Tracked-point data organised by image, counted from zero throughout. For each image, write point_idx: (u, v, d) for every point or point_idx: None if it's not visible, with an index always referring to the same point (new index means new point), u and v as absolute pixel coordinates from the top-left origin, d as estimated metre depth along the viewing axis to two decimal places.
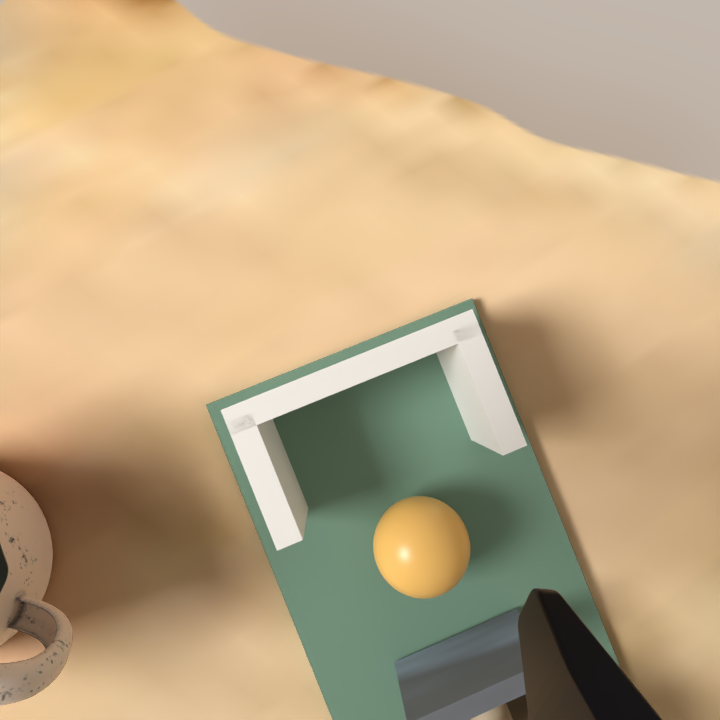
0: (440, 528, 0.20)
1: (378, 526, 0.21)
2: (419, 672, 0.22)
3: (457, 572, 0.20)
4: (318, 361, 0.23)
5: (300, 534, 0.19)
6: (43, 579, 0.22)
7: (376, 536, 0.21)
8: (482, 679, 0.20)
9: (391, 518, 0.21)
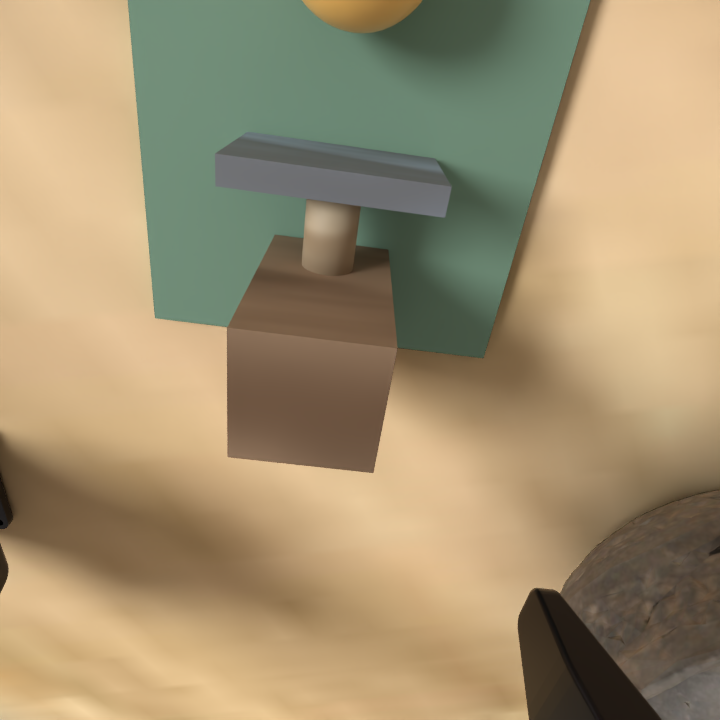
0: None
1: None
2: (270, 143, 0.15)
3: None
4: None
5: None
6: None
7: None
8: (343, 167, 0.13)
9: None
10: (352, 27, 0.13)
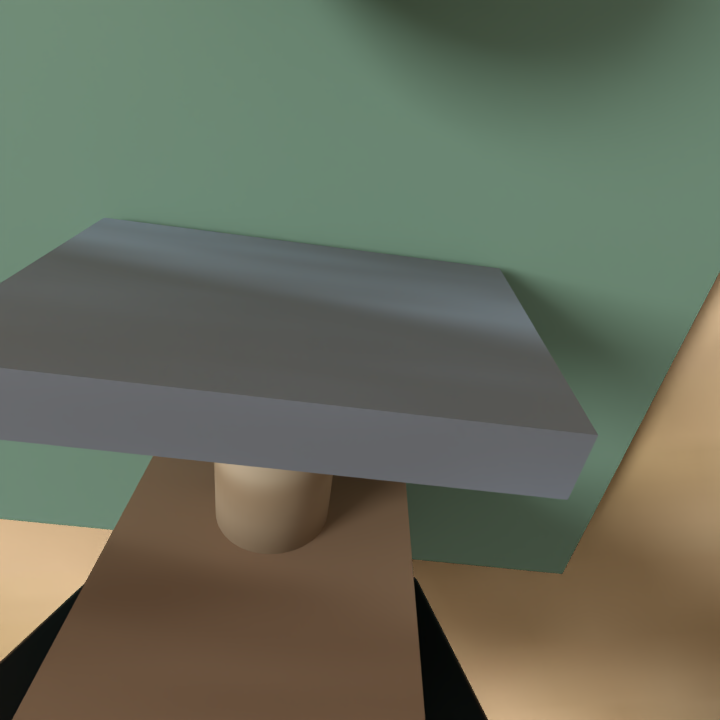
0: None
1: None
2: (130, 260, 0.06)
3: None
4: None
5: None
6: None
7: None
8: (288, 365, 0.05)
9: None
10: None
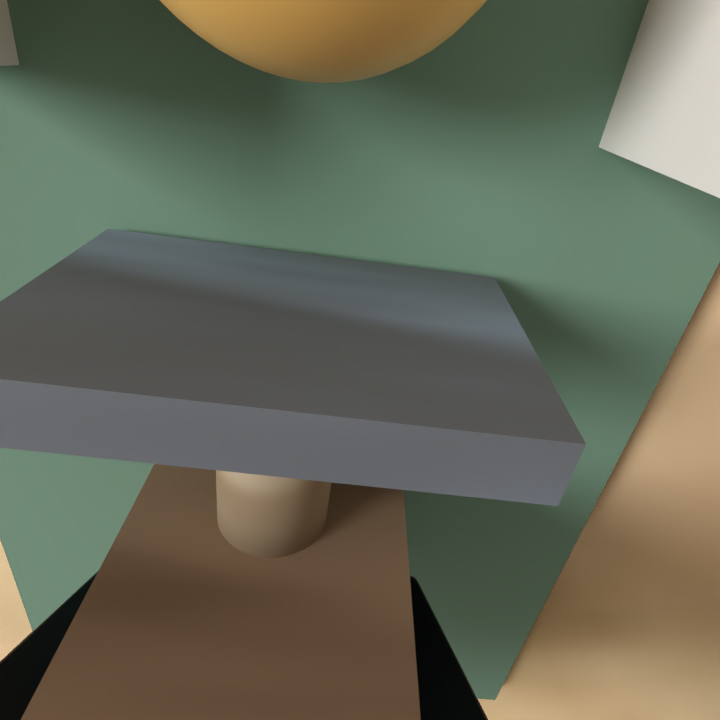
0: None
1: None
2: (134, 271, 0.07)
3: None
4: None
5: None
6: None
7: None
8: (287, 377, 0.05)
9: None
10: None
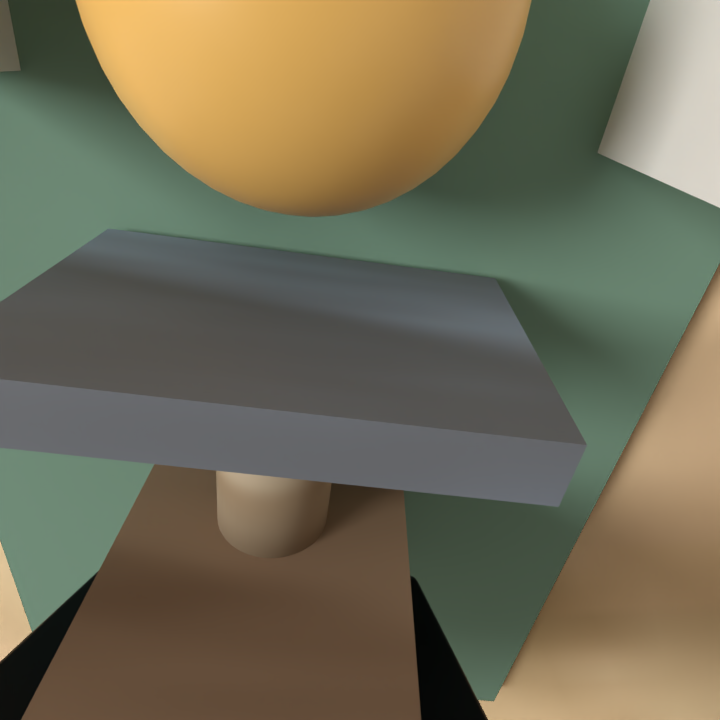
0: None
1: None
2: (135, 271, 0.07)
3: None
4: None
5: None
6: None
7: None
8: (288, 377, 0.05)
9: None
10: None
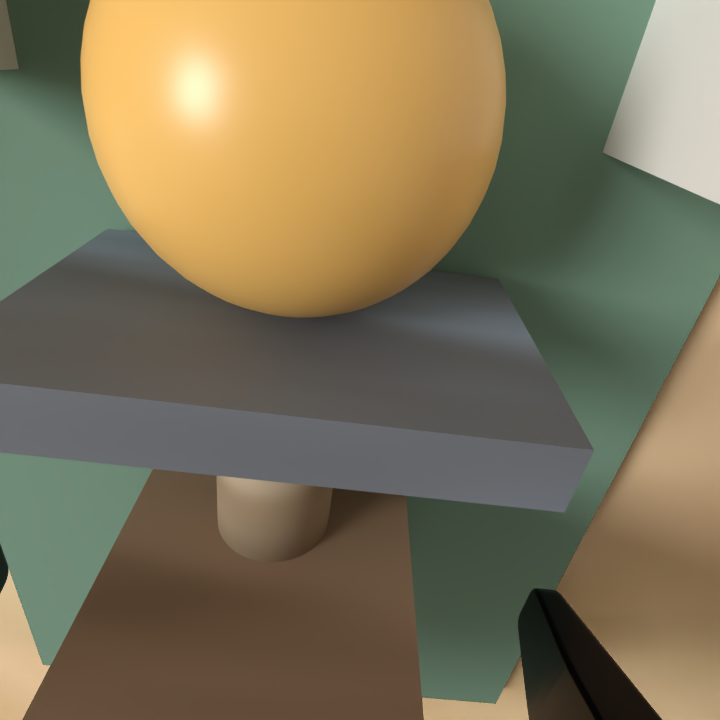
0: None
1: None
2: (134, 272, 0.07)
3: None
4: None
5: None
6: None
7: None
8: (289, 380, 0.05)
9: None
10: (274, 126, 0.03)
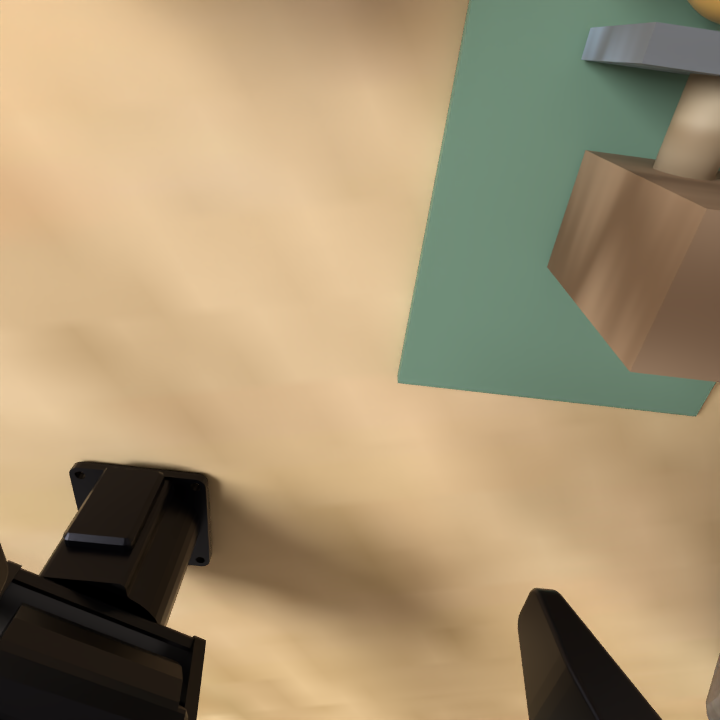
0: None
1: None
2: None
3: None
4: None
5: None
6: None
7: None
8: None
9: None
10: None
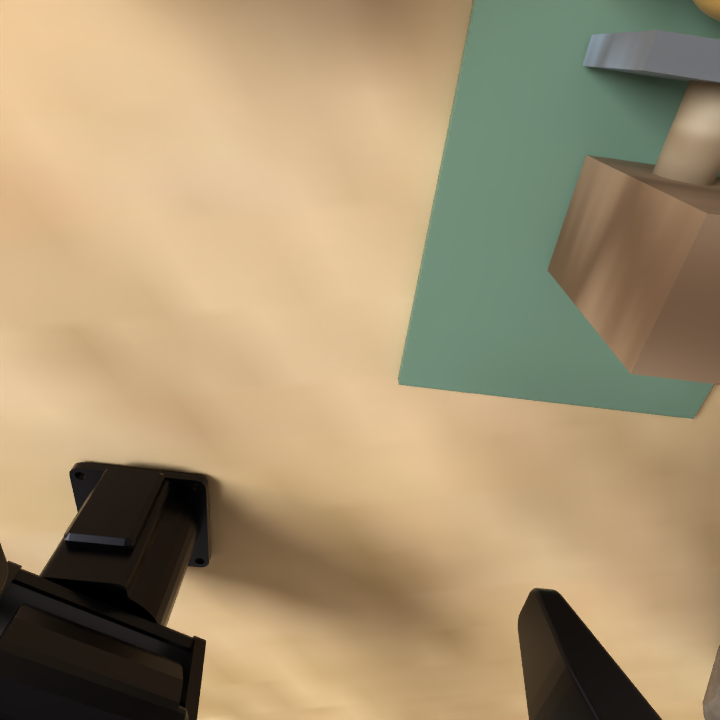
0: None
1: None
2: None
3: None
4: None
5: None
6: None
7: None
8: None
9: None
10: None
